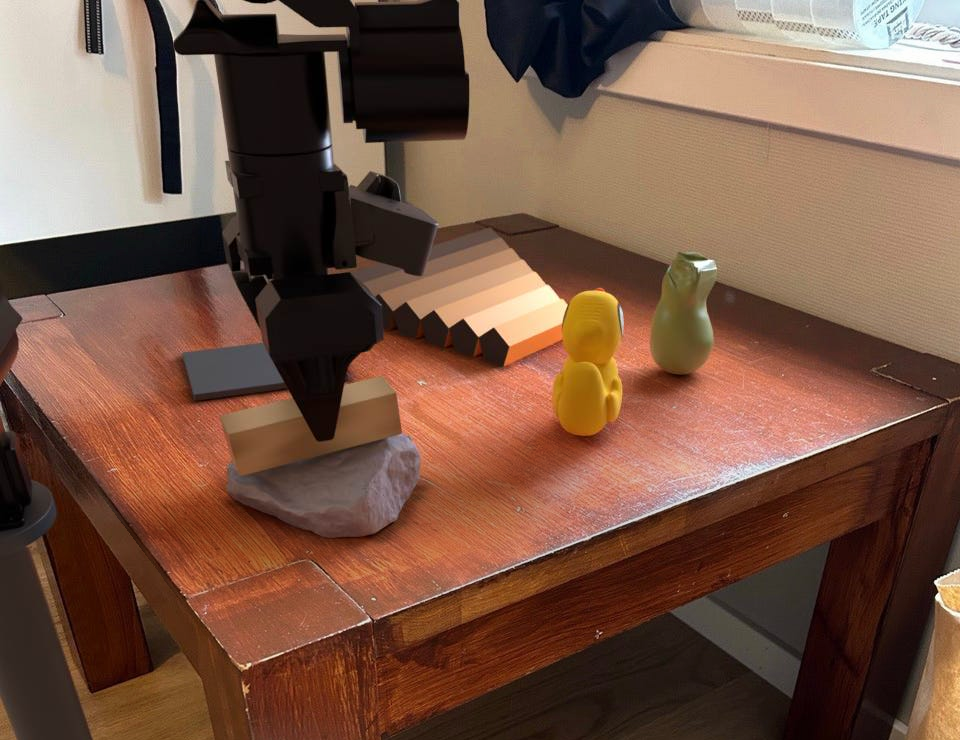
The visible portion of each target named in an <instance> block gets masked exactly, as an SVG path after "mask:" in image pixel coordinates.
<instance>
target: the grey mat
mask: <svg viewBox="0 0 960 740" xmlns="http://www.w3.org/2000/svg"><path fill="white" fill-rule="evenodd" d="M182 359H183V362H184V367H185V370H186V373H187V378H188V381H189V385H190V389H191V392H192V397H193V399H194V401H195V402H199V401H204V400H212V399H221V398H228V397H234V396H242V395H249V394H257V393H263V392H272V391H279V390H284V389H285V390H286V389H287V387H286V385H285V383H284V381H283V379H282V378H281V376H280V374H279V372H278V370H277V369H276V367H275V365H274V363H273V361H272V360H271V358H270V356H269V354H268V352H267V350H266V348H265V345H264V343H263V342H257V343H247V344H240V345H232V346H231V345H230V346H224V347H216V348H208V349H200V350H192V351H191V350H190V351H183V352H182ZM349 379H350V378H349V373H348V372H347V375H346V379H345V381H349Z"/></svg>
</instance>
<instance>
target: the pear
mask: <svg viewBox="0 0 960 740" xmlns="http://www.w3.org/2000/svg"><path fill="white" fill-rule="evenodd" d="M717 272H718V268H717V264H716V262H715V260H713V259H709V258H708V257H706V256H704V255H703V254H701V253H699V252H682V251H677V254H676V257H675V259H673V260H672V264H671V265H669V267H667V269H666V271H665V274H664V275H663V279H662V283H661V296H660V298H659V301H658V303H657V304H656V307H655V309H654V312H653V316H652V320H651V325H650V331H649V350H650V355H651V358H652V360H653V361H654V363H655V365H656V366H657V367H659V368H660V369H661V370H663V371H664V372H666V373H669V374H673V375H688V374H691V373H695V372H697V371H698V370H700V369H701V368H703V366H704V365H705V364H707V362H708V360H709V359H710V357H711V355H712V352H713V349H714V343H715V338H714V332H713V331H714V330H713V326H712V323H711V320H710V316H709V314H708V311H707V310H708V309H707V298H708V297H709V294H710V292H711V290H712V289H713V287H714V285H715V283H716V280H717Z"/></svg>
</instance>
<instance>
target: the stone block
mask: <svg viewBox="0 0 960 740" xmlns="http://www.w3.org/2000/svg"><path fill="white" fill-rule="evenodd" d="M421 459H422V458H421V453H420V451H419V450H418V448H417V445H416V444H415V442H414V441H413V438H412V437H411V435H407V433H403V432H402V434H400V435H396V436H392V437H388V438H385V439H381V440H377V441H373V442H369V443H365V444H362V445H358V446H354V447H350V448H346V449H343V450H339V451H335V452H331V453H327V454H323V455H320V456H316V457H312V458H308V459H304V460H301V461H297V462H293V463H289V464H285V465H281V466H278V467H274V468H270V469H266V470H262V471H258V472H255V473H251V474H247V475H243V476H239V475H238V473H237V470H236V468H235V466H234V463H233V461H232V459H231V460H230V462H229V463H228V465H227V467H226V478H227V481H226V487H225V490H226V491H225V492H226V493H227V494H228V495H229V496H231V497H232V499H233V500H235V501H237V502H239V503H241V504H242V505H243V506H247V507H249V508H251V509H255V510H257V511H260V512H261V513H264V514H266V515H270V516H274V517H276V518H277V519H278V520H280V521H282V522H284V523H286V524H288V525H290V526H293V527H296V528H298V529H301V530H305V531H311V532H312V533H313V534H315V535H318V536H320V537H322V538H327V539H328V538H329V539H336V538H362V537H365V536H370V535H374V534H376V533H378V532H379V531H381V530H382V529H384V528H385V527H387V526H388V525H390V524H392V523H393V522H396V521H397V519H398V518H399V514H400V513H401V511H402V509H403V507H404V505H405V503H406V502H407V501H408V500H409V499H410V497H411V495H412V492H413V490H415V488H416V487H417V485H418V483H419V482H420V476H421V475H420V474H421V473H420V472H421Z"/></svg>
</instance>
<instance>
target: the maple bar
mask: <svg viewBox="0 0 960 740" xmlns="http://www.w3.org/2000/svg"><path fill="white" fill-rule="evenodd" d="M398 400H399V399H398V393H397V391H396V390H395V389H394V388H393V386H392V385H391V384H390V383H389V382H388V380H387V379H386V378H385V377H384V376H383V375H380V376H376V377H372V378H367V379H364V380H359V381H355V382H352V383H348V384H347V383H346V384H344V389H343V393H342V399H341V405H340V410H339V415H338V420H337V426H336V431H335V436H334V438H333V439H332V440H328V441H322V442H318V441H316V439H315V438H314V436H313V434H312V432H311V430H310V428H309V427H308V425H307V423H306V421H305V419H304V417H303V416H302V414H301V412H300V410H299V408H298V406H297V405H296V403H295V401H294V399H293V398H292V397H289V398H286V399H281V400H278V401H274V402H270V403H269V402H268V403H265V404H262V405H261V404H260V405H256V406H253V407H249V408H245V409H240V410H237V411H232V412H228V413H224V414H220V415H219V420H220V423H221V427H222V430H223V434H224V439H225V442H226V445H227V449H228V453H229V457H230V459H231V460H232V461H233V463H234V466H235V468H236V470H237V473H238V475H239V476H243V475H247V474H251V473H255V472H258V471H262V470H266V469H270V468H274V467H278V466H281V465H285V464H289V463H293V462H297V461H301V460H304V459H308V458H312V457H316V456H320V455H323V454H327V453H331V452H335V451H339V450H343V449H346V448H350V447H354V446H358V445H362V444H365V443H369V442H373V441H377V440H381V439H385V438H388V437H392V436H396V435H400V434H402V433H403V428H402V423H401V422H402V421H401V415H400V408H399V401H398Z"/></svg>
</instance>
